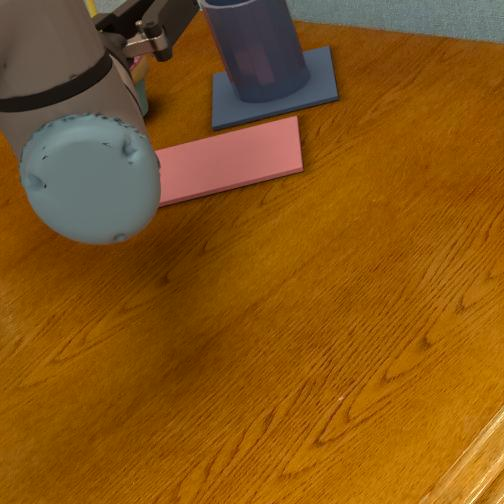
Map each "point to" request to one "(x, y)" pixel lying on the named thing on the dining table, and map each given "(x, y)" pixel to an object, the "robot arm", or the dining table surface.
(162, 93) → the dining table surface
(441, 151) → the dining table surface
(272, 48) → the blue cup
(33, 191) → the robot arm
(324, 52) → the blue mat
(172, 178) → the rose mat
